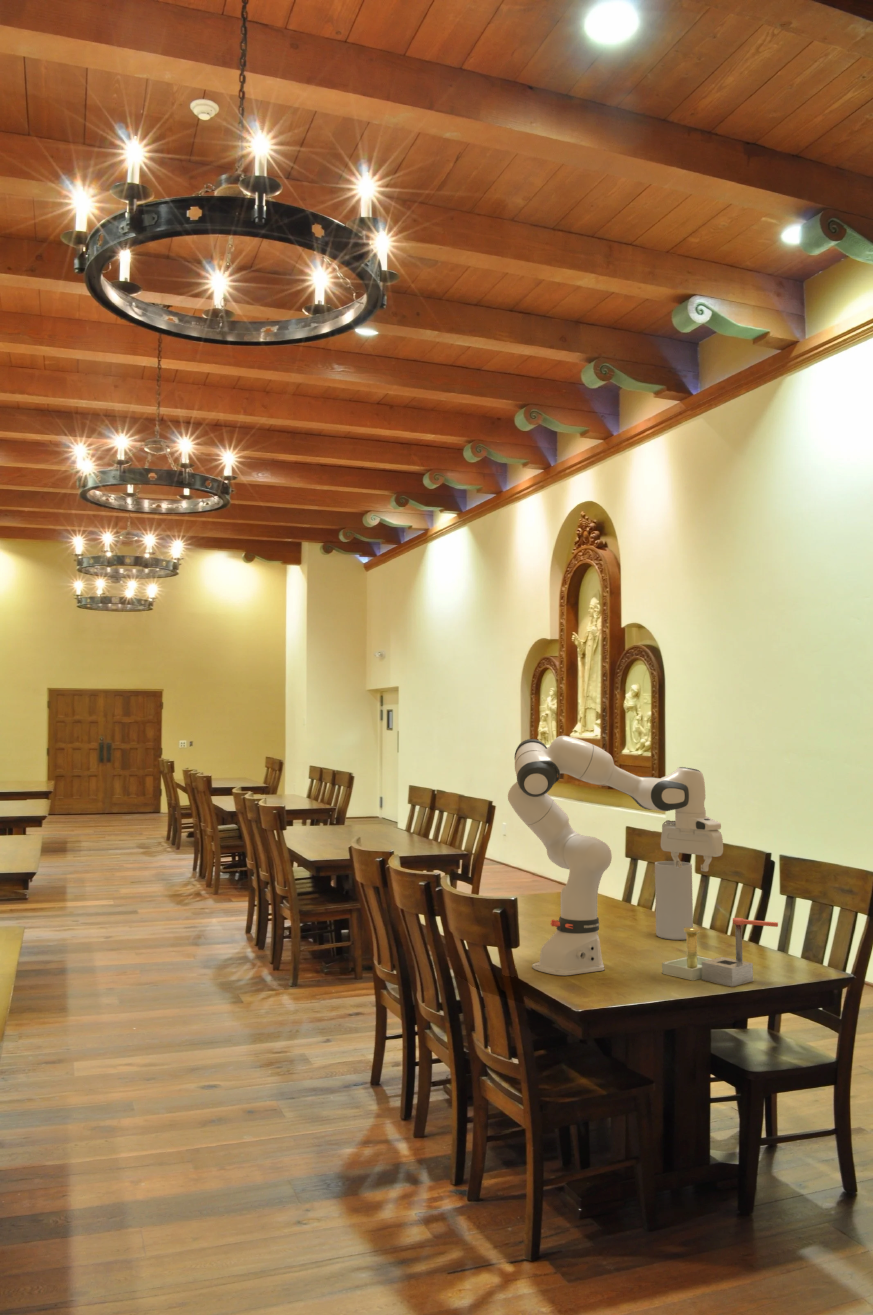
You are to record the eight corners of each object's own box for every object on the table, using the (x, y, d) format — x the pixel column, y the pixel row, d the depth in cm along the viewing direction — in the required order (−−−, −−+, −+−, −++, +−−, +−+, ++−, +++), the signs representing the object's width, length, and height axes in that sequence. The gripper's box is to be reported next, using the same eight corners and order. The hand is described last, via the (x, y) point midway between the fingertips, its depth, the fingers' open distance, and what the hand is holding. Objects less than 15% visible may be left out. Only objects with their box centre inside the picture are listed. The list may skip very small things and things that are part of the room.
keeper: (731, 924, 279) (731, 919, 279) (733, 922, 282) (733, 917, 282) (776, 928, 274) (776, 923, 274) (778, 926, 277) (778, 921, 277)
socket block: (732, 987, 268) (731, 932, 269) (702, 980, 276) (701, 927, 277) (758, 980, 276) (756, 927, 277) (727, 973, 284) (726, 921, 285)
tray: (692, 980, 275) (692, 969, 275) (662, 973, 283) (662, 963, 283) (724, 972, 285) (724, 961, 285) (694, 965, 293) (694, 955, 293)
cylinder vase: (690, 933, 341) (688, 861, 343) (696, 941, 329) (694, 866, 331) (653, 932, 342) (652, 861, 344) (658, 940, 330) (657, 865, 332)
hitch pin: (692, 973, 281) (691, 930, 281) (681, 969, 284) (680, 928, 285) (703, 971, 283) (702, 929, 284) (691, 968, 287) (691, 926, 288)
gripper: (655, 820, 295) (656, 866, 293) (712, 825, 279) (713, 874, 278) (668, 819, 299) (669, 864, 297) (725, 824, 283) (726, 872, 281)
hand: (691, 869), depth 287 cm, fingers open, 8 cm apart
